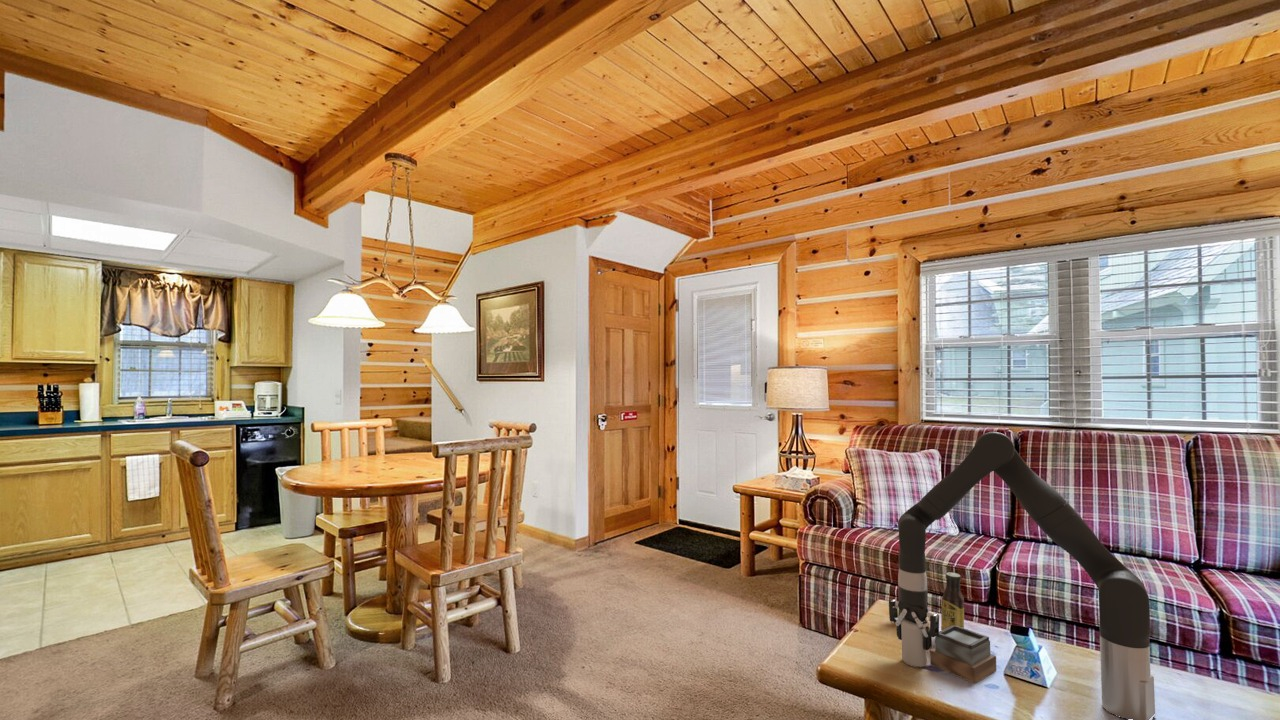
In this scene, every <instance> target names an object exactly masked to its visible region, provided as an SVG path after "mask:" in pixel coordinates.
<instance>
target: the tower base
mask: <svg viewBox="0 0 1280 720" xmlns="http://www.w3.org/2000/svg"><path fill="white" fill-rule="evenodd" d="M934 638H935V639H934V641H935V642H934V644H935V646H934V648H932V649H929V654H930V655H929V657H930V658H929V660H930V661H929V663H930V665H931V666H932V667H935V668H937V669H940V670H943V671H944V672H947V673H949V674H952V675H954V676H956V677H958V678H962V679H964V680H966V681H968V682H970V683H972V684H976V683H978V682H979V681H981V680H983V679H985V678H987V677H988V676H990V675H991V674H993V673H995V672H997V655H995V654H992V653H991V640H990V637H989V636H987V635H984V634H982V633H979V632H976V631H973V630H969V629H968V628H965V627H964V628H962V627H959V626H956V625H952V626H950V627H948V628H946V629H943V630H941V629H940V630H939V635H937V636H935V637H934Z"/></svg>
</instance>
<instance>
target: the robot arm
mask: <svg viewBox="0 0 1280 720" xmlns="http://www.w3.org/2000/svg"><path fill="white" fill-rule="evenodd" d="M992 472H993V473H995V474H996V475H997V476H998V477H999V478H1000V479H1001V480H1002V481H1003V482H1004V483H1005V484H1006V485H1007V486H1008V488H1009V489H1010V491H1011V492H1012V493H1013V495H1014V496H1015V498H1016V499H1017V501H1018V502H1019V503H1020V505H1021V506H1022V508H1023V509H1024V510H1025V512H1026V513H1027V515H1029V517H1030V518H1031V519H1032V521H1034V522H1035V524H1036V526H1038V527H1039V529H1041V530H1042V531H1043V533H1044V535H1046V536H1048V538H1049V539H1050V540H1052V541H1053V542H1054V543H1055V544H1056V545H1058V546H1059V547H1060V548H1061V549H1063V550H1064V551H1065V552H1066V553H1067V554H1068V555H1070V556H1071V557H1072V558H1074V560H1076V562H1077V563H1078V564H1079V565H1080V567H1082V569H1083V570H1084V571H1085V572H1086V574H1087V575H1088V576H1089V577H1090V579H1091V580H1092V581H1093V583H1094V584H1095V586H1096V588H1097V589H1098V606H1099V607H1098V608H1099V609H1098V611H1099V648H1100V649H1099V651H1100V652H1099V653H1100V654H1099V655H1100V681H1101V682H1100V684H1101V705H1102V707H1104V708H1105V709H1106V710H1105V709H1104V708H1103V709H1104V710H1105V711H1106V712H1108V711H1109V712H1108V713H1110V714H1111V713H1112V714H1111V715H1113V714H1115V715H1117V716H1120V717H1122V718H1126V719H1133V720H1149V719H1150V718H1151V717H1152V716H1153V715H1154V714H1155V715H1156V704H1155V703H1156V697H1155V677H1154V676H1153V675H1151V674H1152V673H1151V652H1150V651H1151V649H1150V637H1151V615H1150V614H1151V613H1150V612H1151V609H1150V607H1151V605H1150V598H1149V597H1150V596H1149V594H1148V592H1147V589H1146V587H1145V584H1144V582H1143V581H1142V580H1141V579H1140V578H1139V577H1138V576H1136V574H1135V573H1133V572H1132V571H1131V570H1130V569H1129V568H1128V567H1126V566H1125V564H1123V563H1122V562H1121V561H1120V560H1119V559H1118V558H1117V557H1116V556H1115V555H1113V554H1112V553H1111V551H1110V550H1108V549H1107V548H1106V546H1105V545H1103V543H1102V542H1101V541H1100V538H1098V536H1096V533H1094V531H1093V530H1092V529H1091V528H1090V526H1089V524H1088V523H1086V522H1085V520H1084V519H1083V518H1082V517H1081V515H1080V514H1079V513H1078V512H1077V511H1076V509H1074V507H1072V506H1071V504H1070V503H1069V502H1068V501H1067V500H1066V499H1065V498H1064V497H1063V496H1062V495H1061V494H1060V493H1059V492H1058V491H1056V489H1054V487H1052V486H1051V485H1050V484H1049V483H1048V482H1047V481H1045V480H1044V479H1043V478H1041V476H1039V475H1038V474H1037V473H1036V472H1035V471H1034V470H1033V469H1031V467H1030V466H1029V465H1028V464H1027V463H1026V461H1024V459H1023V458H1022V457H1021V455H1020V454H1019V452H1018V451H1017V450H1016V448H1015V445H1014V442H1013V441H1012V439H1011V438H1010V437H1008V435H1006V434H1004V433H1001V432H997V431H988V432H985V433H983V434H980V436H978V437H977V438H976V441H975V442H974V445H973V447H972V449H970V451H969V453H968V454H967V455H966V456H965V458H964V459H963V461H961V462H960V463H959V464H958V465H957V467H955V468H954V469H953V470H952V471H951V472H950V473H948V475H946V476H944V477H943V478H942V479H941V480H940V481H938V483H936V484H935V485H933V487H931V489H930V490H929V491H928V492H927V493H925V494H924V496H923V497H922V498H921V499H920V500H919V501H918V502H917V503H915V504H914V505H912V506H911V507H910V508H908V509H907V510H905V512H904V513H903V514H902V515H901V516H900V517H899V519H898V522H897V528H898V529H897V531H898V544H899V550H898V576H897V583H898V585H897V587H898V589H897V591H898V595H897V596H899V598H898V599H899V600H897V599H896V598H894V599H891V600H888V611H889V612H888V613H889V617H888V618H889V621H890V622H891V623H894V624H895V627H896V628H895V629H896V637H897V639H898V640H899V641H902V637H901V623H902V621H903V619H904V618H905V619H906V620H908V621H912V622H913V623H916V624H917V625H918V627H919V628H920V629H921V630H922V632H923V634H924V636H923V647H924V650H927V651H928V650H929V651H930V650H931V648H932V647H933V643H932V642H933V639H932V638H935V636H937V635H939V631H940V615H939V613H937V612H936V613H933V612H929V609H928V603H929V602H928V577H927V566H926V565H927V559H926V553H925V552H926V541H927V539H926V538H927V535H926V533H927V532H926V529H928V527H929V526H931V525H932V524H933V523H934V522H936V521H938V520H941V519H942V518H944V517H945V516H946V515H947V514H948V513H949V512H950V511H951V510H952V509H954V508H955V506H956V505H958V504H959V503H960V501H961V500H962V499H963V498H964V497H965V496H966V495H967V494H968V493H969V492H970V491H971V490H972V489H973V488H974V487H975V486H976V485H977V484H978V483H979V482H980V481H982V479H984V478H986V477H987V476H988V475H989V474H991V473H992ZM898 601H899V602H898ZM898 607H899V609H900V610H901V612H902V613H901V614H900V615H899V617H898V610H899V609H898ZM927 618H928V619H927ZM922 622H923V623H924V624H922ZM1115 715H1114V716H1115ZM1117 716H1116V717H1117ZM1120 717H1119V718H1120ZM1122 718H1121V719H1122Z"/></svg>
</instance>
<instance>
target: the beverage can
mask: <svg viewBox="0 0 1280 720" xmlns="http://www.w3.org/2000/svg"><path fill="white" fill-rule="evenodd" d="M922 624H924V623H923V622H922ZM923 636H924V634H923V632H922V630H921V629H920V628H919V627H918V625H917V624H916V623H913V622H912V621H908V620H906V619H905V618H904V619H903V621H902V623H901V637H902V640H901V659H902V661H903V663H905V664H906V665H907V666H909V665H910V667H912V666H913V667H912V668H919V667H920V668H923V667H925V666H926V665H927V664H928V659H927V657H928V656H927V654H928V652H927V651H928V650H924V647H923Z"/></svg>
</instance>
